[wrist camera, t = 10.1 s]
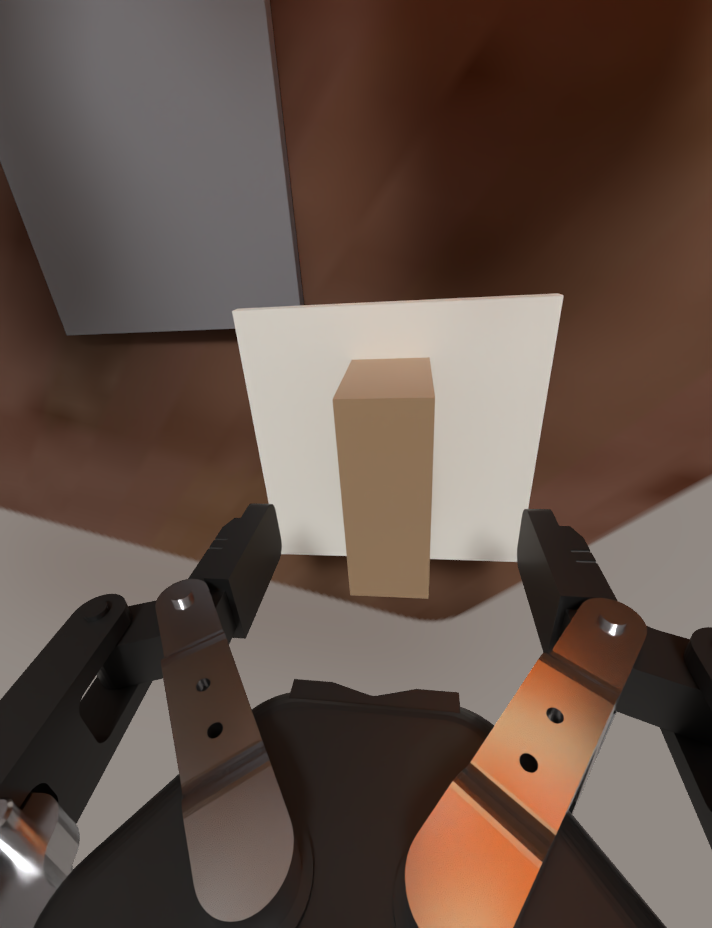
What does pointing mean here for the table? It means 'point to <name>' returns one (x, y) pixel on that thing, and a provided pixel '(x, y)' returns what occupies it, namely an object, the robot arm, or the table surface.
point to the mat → (149, 159)
